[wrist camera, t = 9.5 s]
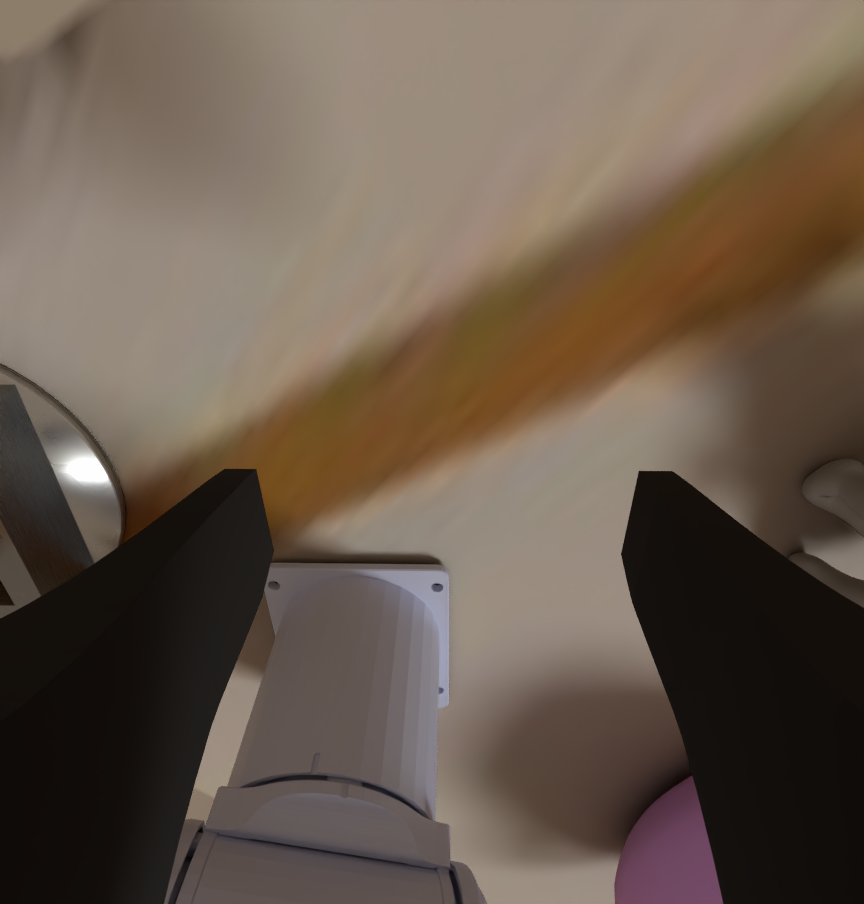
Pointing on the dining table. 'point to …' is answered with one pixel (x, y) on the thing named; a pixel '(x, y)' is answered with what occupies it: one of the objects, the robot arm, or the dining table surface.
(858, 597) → the gray elephant figurine
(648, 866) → the teapot
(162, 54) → the dining table surface
